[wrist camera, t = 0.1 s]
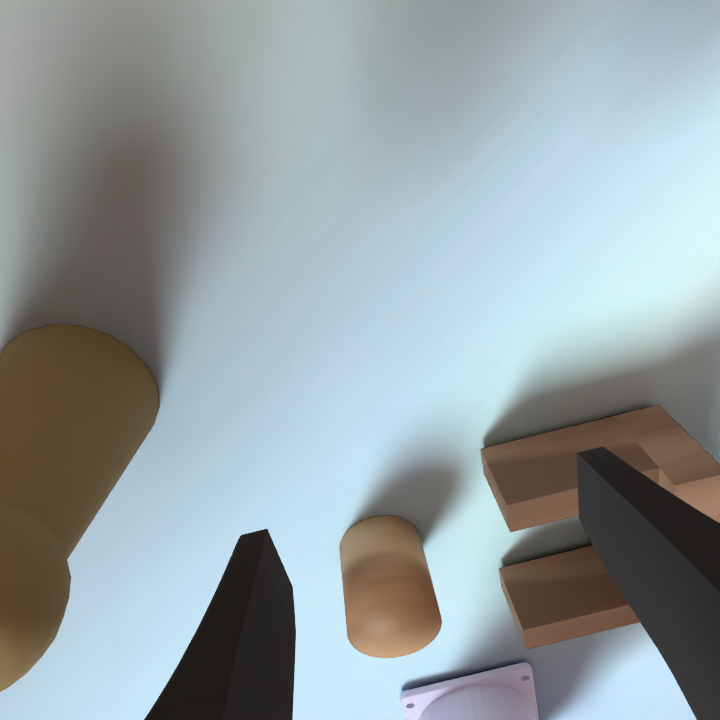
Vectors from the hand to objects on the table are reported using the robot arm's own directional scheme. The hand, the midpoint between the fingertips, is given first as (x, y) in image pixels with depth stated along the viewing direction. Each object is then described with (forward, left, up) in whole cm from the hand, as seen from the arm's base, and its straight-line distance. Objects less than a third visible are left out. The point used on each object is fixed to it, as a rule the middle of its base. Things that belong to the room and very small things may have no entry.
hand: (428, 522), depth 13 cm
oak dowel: (-12, +2, -10) cm, 15 cm away
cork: (0, +12, -10) cm, 16 cm away
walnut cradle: (-12, -7, -10) cm, 17 cm away
